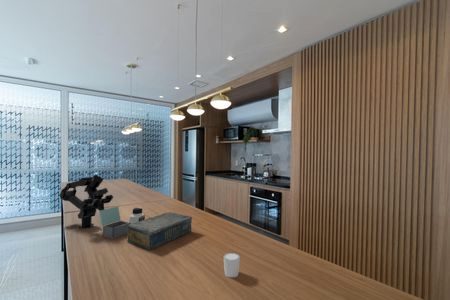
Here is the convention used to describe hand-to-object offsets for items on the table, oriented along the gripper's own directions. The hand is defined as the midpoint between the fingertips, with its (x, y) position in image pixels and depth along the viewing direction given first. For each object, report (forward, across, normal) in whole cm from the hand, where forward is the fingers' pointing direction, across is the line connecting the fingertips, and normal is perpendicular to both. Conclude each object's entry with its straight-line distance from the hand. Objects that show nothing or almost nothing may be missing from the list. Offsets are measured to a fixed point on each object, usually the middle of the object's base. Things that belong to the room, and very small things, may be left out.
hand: (103, 211), depth 137 cm
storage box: (+18, 0, -1) cm, 18 cm away
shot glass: (+74, -7, -57) cm, 94 cm away
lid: (+6, 0, -4) cm, 7 cm away
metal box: (+37, +10, -19) cm, 42 cm away
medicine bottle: (+17, +17, +1) cm, 24 cm away
